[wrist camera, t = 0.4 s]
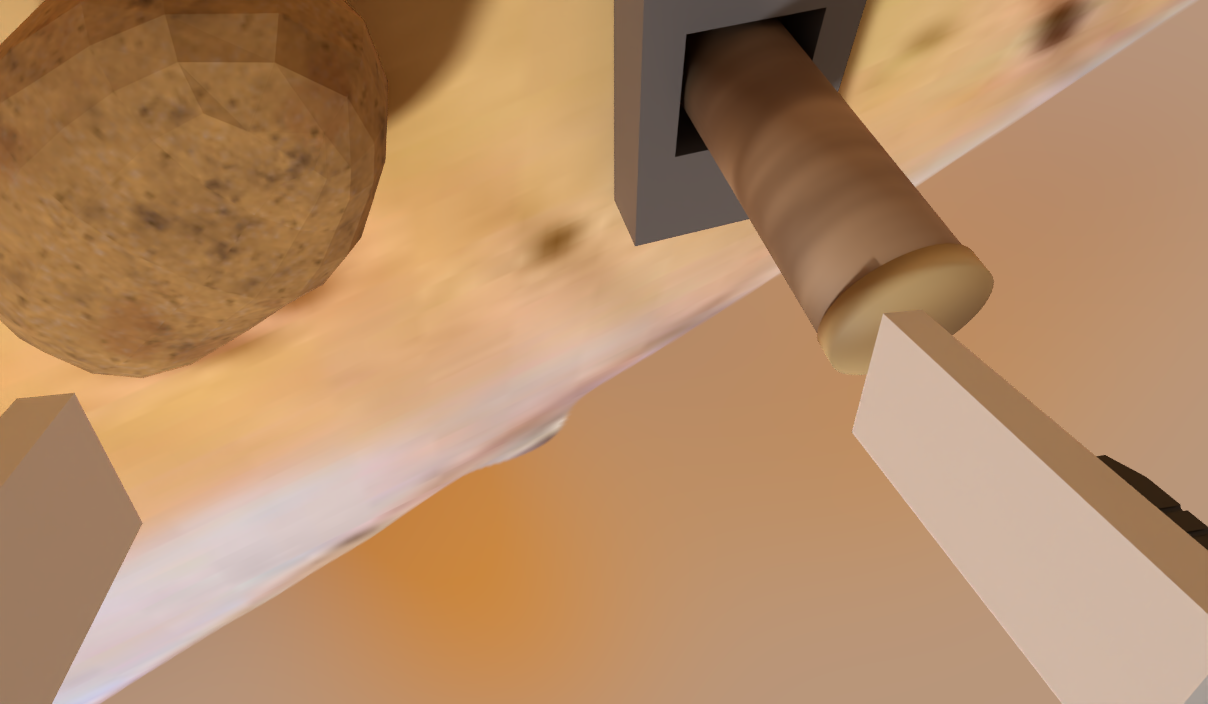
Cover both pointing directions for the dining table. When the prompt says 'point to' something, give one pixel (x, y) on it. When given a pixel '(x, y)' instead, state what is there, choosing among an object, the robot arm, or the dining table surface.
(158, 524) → the dining table surface
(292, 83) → the potato
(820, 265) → the plug
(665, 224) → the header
